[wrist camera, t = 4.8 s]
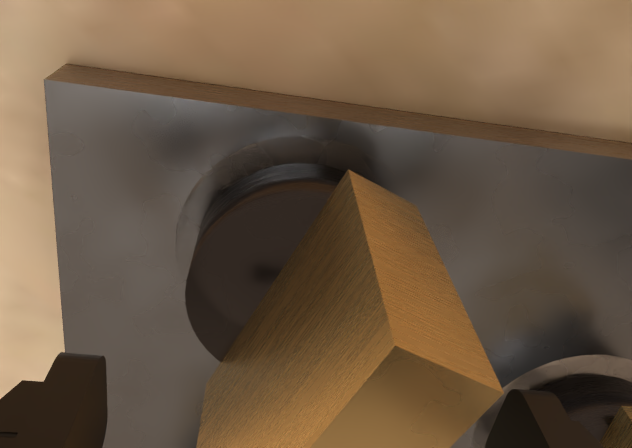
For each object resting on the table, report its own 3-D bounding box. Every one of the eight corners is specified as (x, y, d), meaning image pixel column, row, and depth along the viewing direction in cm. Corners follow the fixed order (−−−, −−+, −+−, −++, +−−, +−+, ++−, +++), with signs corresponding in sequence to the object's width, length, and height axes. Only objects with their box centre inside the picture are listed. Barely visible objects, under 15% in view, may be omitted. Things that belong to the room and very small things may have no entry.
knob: (270, 98, 13) (260, 287, 6) (458, 201, 15) (603, 436, 8) (150, 314, 16) (58, 596, 9) (318, 380, 17) (341, 660, 11)
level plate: (775, 163, 17) (857, 204, 14) (541, 552, 26) (567, 615, 24) (65, 63, 14) (22, 94, 12) (93, 535, 24) (72, 604, 21)
